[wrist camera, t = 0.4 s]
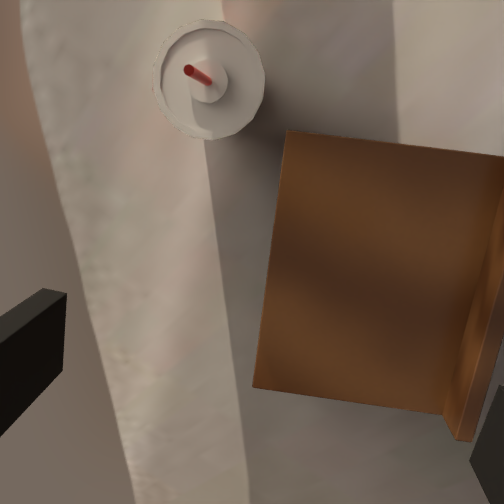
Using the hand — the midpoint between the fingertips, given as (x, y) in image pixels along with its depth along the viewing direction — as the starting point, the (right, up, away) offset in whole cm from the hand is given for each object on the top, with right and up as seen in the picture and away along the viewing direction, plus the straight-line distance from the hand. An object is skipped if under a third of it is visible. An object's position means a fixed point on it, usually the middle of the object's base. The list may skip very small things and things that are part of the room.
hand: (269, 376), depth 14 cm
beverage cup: (-2, +15, +19) cm, 25 cm away
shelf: (+8, +4, +21) cm, 23 cm away
